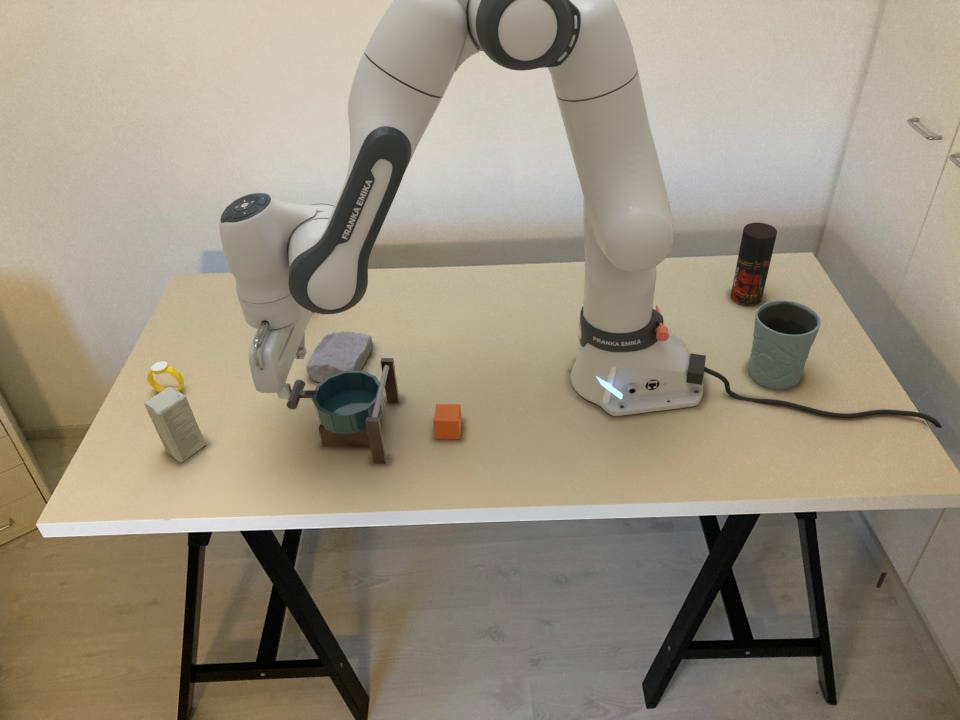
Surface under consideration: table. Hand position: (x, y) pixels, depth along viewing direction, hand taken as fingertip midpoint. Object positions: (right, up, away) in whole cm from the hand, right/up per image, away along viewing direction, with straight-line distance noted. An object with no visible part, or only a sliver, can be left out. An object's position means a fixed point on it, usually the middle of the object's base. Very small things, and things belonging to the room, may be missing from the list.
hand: (293, 375), depth 120 cm
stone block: (+4, +2, +21) cm, 21 cm away
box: (-19, -12, +5) cm, 23 cm away
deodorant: (+82, +15, +31) cm, 88 cm away
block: (+26, -8, +4) cm, 27 cm away
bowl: (+7, -6, +4) cm, 10 cm away
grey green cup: (+80, 0, +13) cm, 81 cm away
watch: (-26, -3, +16) cm, 31 cm away
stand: (+9, -9, +7) cm, 14 cm away
